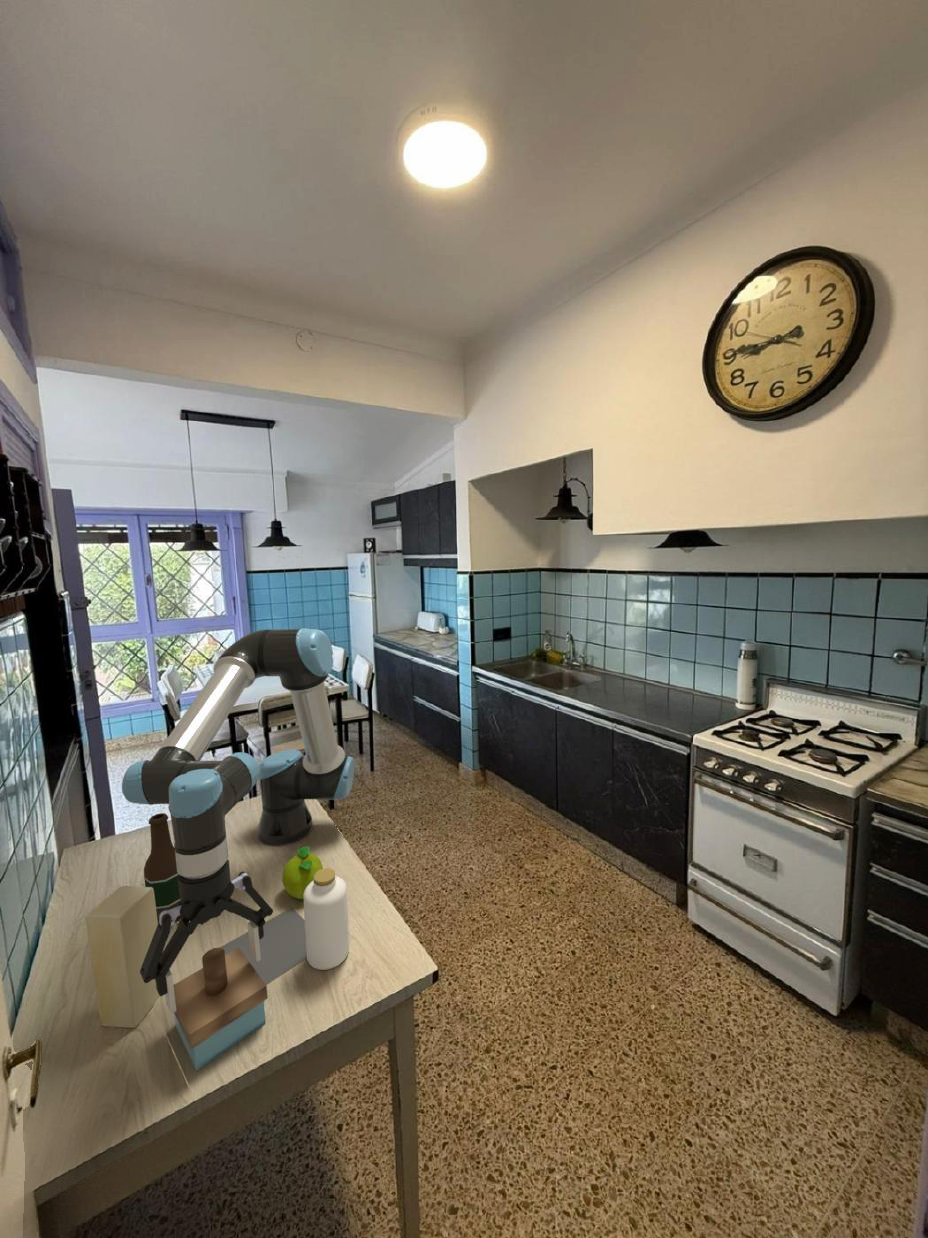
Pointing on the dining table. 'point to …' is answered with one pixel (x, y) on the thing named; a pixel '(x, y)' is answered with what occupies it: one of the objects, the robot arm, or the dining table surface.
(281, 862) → the dining table surface
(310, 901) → the potion bottle
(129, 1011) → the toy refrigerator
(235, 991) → the lid cover
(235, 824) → the dining table surface
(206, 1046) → the dish
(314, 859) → the fruit
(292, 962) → the mat
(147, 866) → the beer bottle
